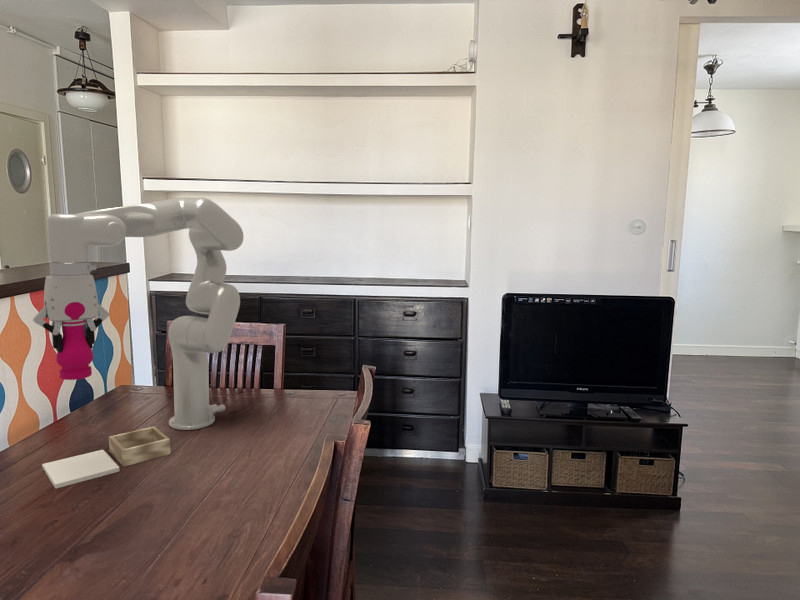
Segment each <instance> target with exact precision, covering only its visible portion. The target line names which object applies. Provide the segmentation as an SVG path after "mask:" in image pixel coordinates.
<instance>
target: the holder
mask: <svg viewBox="0 0 800 600" xmlns="http://www.w3.org/2000/svg"><path fill="white" fill-rule="evenodd" d="M108 448H109V449H108V452H109V453H110V454H111V455H112V456H113V457H114V459H116V460H117V461H118V462H119V464H120V465H121V466H122V467H128V466H131V465H136V464H138V463H143V462H146V461H147V462H148V461H151V460H153V459H157V458H161V457H165V456H169V455H171V438H169V436H167V435H166V434H164V433H163V432H162V431H160V430H159V429H158V428H157V427H156V426H149V427H146V428H140V429H137V430H132V431H128V432H124V433H119V434H115V435H110V436H108Z"/></svg>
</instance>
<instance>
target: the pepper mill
mask: <svg viewBox="0 0 800 600" xmlns="http://www.w3.org/2000/svg"><path fill="white" fill-rule="evenodd" d="M84 312H85V307H84V305H83V304H81V303H79V302H72V303H69V304H68V305H67V306H66V307H65V314H66V315H67V316H68V317H70V318H71V320H67V321H63V322H62V325H61V328H62V345H63V351H62V352H58V351H56V352H57V353H56V363H57V364H58V365H59V366H60V367H61V369H59V378H60V379H62V380H64V381H69V380H70V381H73V380H75V381H76V380H83V379H86V378H89V377H91V376H92V374H93V372H92V371H93V370H92V369H93V368H92V366H91V365H90V364H91V363H92V361H93V360H94V353H93V348H90V347H89V344H88V341H87V339H86V337H85V325H86V322H85V319H79V317H80V316H81V315H83V314H84Z"/></svg>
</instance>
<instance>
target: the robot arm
mask: <svg viewBox="0 0 800 600" xmlns="http://www.w3.org/2000/svg"><path fill="white" fill-rule="evenodd" d="M46 226H47V240H48V241H47V242H48V259H49V271H50V272H49V274H50V275H47V276H45V281H44V288H43V289H44V290H43V293H44V294H43V307H42V309H40V311H39V312H38V313H37V314H36V315H35V316H34V317H33V319H32V321H33V322H34V323H35V324H37V325H38V326H40V327H42V328H43V329H45V330H47V331H48V332H49V333H50V334H51V338H52V348H53V349H55V350H56V352H62V351H63V345H62V338H63V334H61V331H60V330H61V328H62V322H63V321H67V320H71V318H70V317H68V316H67V315H66V314H65V307H66V306H67V305H68V304H69V303H72V302H79V303H81V304H83V305H84V307H85V312H84V314H83V315H81V316H80V317H79V319H85V322H86V324H85V326H86V329H84V333H85V337H86V339H87V341H88V344H89V347H90V348H91V349H93V346H94V345H95V343H96V339H95V331H96V330H97V328H99V326H100V325H101V324H102V323H103V322H104V321H105V320H106V319H108V317H110V313H109V311H107V310H106V309H105V308H104V307H103V306H102V305H101V304H100V303H99V298H98V291H97V285H96V282H95V281H96V280H95V279H94V276H93V274H91V272H92V271H96V270H97V264H96V263H94V264H93V263H91V262H90V253H89V252H90V251H89V246H92V247H101V248H103V247H105V248H106V247H107V248H109V247H115V246H117V245H120V244H121V243H122V242H123V241H124V240H125V239H126V238H148V237H156V236H161V235H165V234H168V233H173V232H177V231H178V232H179V231H181V230H187V229H188V237H189V238H188V239H189V241H190V243H191V245H192V247H193V249H194V252H195V254H196V262H197V263H196V268H195V270H194V274H193V276H192V279H191V282H190V285H189V288H188V290H187V294H186V298H185V305H186V307H187V309H188V310H189V311H192V312H193V313H197V314H203V315H208V318H206V317H201V316H196V315H195V316H193V315H183V316H178V317H177V318H175V319H174V320H173V321H172V322H171V323H170V325H169V327H168V330H167V331H168V332H167V333H168V334H167V336H168V341H169V345H170V348H171V353H172V354H171V355H172V368H173V369H172V370H173V371H172V372H173V374H172V375H173V407H174V408H173V409H174V415H173V416H172V417H170V419H169V420H168V426H169V427H170V428H172V429H175V430H178V431H182V430H183V431H191V430H192V431H193V430H199V429H204V428H206V427H209V426H210V425H212V424H213V423H215V420H216V418H215V417H216V416H215V414H216V413H221V412H224V411H226V406H225V404H219V405H217V403H214V404H210V386H209V385H210V384H209V383H210V382H209V378H210V376H209V375H210V374H209V359H208V357H207V353H208V354H209V353H210V354H217V353H220V352H222V351H224V349H225V348H226V346H227V345H228V343H229V340H230V338H231V335H232V332H233V330H234V326H235V324H236V323H235V322H236V319H237V317H238V313H239V310H240V306H241V297H240V293H239V290H238V289H237V288H236V287H235V286H234V285H232V284H230V283H225V278H226V275H227V261H226V260H225V257H224V255H223V251H225V252H228V251H229V252H230V251H235V250H238V249H239V248H240V247H241V246H242V244H243V242H244V237H245V236H244V231H243V229H242V227H241V225H240V224H239V223H238V222H237V221H236V220H235V219H234V218H233V217H232V216H231V215H230V214H229V213H228V212H226V211H225V210H224V209H223V208H222V207H221V206H219V205H218V204H217V203H216V202H215V201H212V200H211V199H209V198H206V197H189V196H188V197H187V196H186V197H185V196H184V197H182V196H181V197H174V198H169V199H164V200H159V201H158V200H156V201H153V202H145V203H139V204H131V205H130V204H129V205H126V206H120V207H119V206H118V207H111V208H109V207H108V208H104V209H103V208H102V209H96V210H89V211H83V212H79V213H73V214H71V213H52V214H50V215H49V216H48V217H47V222H46ZM44 319H48V320H49V321H51V324H50V323H49V322H47V321H45V320H44Z"/></svg>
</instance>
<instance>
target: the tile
mask: <svg viewBox="0 0 800 600" xmlns="http://www.w3.org/2000/svg"><path fill="white" fill-rule="evenodd" d="M41 464H42V465H41V468H42V471H45V472H44V473H45V475H46V476H47V478H48V480H49V481H50V483H51V484H52V486H53V488H54V489H55V490H56V489H59V488H63V487H66V486H70V485H75V484H78V483H83V482H85V481H88V480H89V481H90V480H92V479H93V480H94V479H97V478H100V477H103V476H107V475H110V474H111V475H112V474H114V473H119V472H120V466H119V465H118V464H117V463H116V462H115V461H114V460H113V459H112V458H111V456H110V455H109V454H108V453H107V452H106V451H105V450H104V449H100V450H95V451H91V452H87V453H84V454H83V453H82V454H78V455H74V456H70V457H66V458H62V459H58V460H54V461H50V462H45V463H41Z"/></svg>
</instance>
